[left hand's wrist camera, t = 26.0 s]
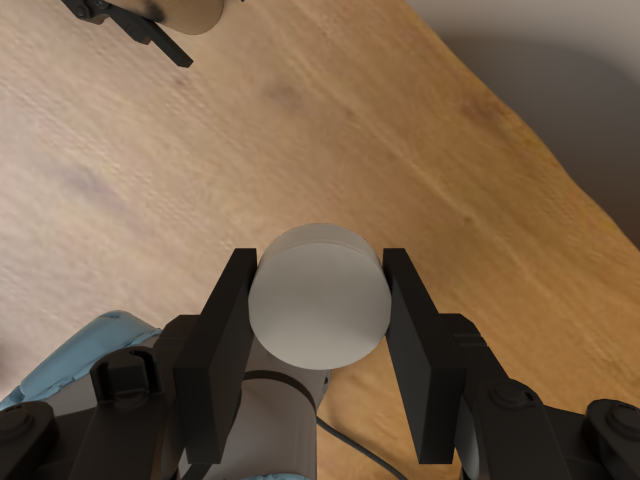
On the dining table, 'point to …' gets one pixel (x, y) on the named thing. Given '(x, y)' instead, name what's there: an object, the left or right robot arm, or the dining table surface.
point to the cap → (319, 297)
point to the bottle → (177, 13)
